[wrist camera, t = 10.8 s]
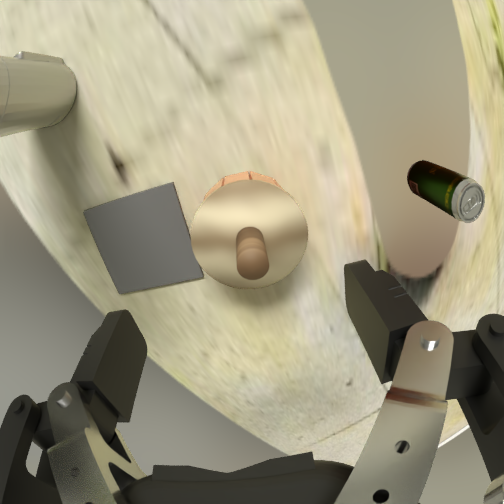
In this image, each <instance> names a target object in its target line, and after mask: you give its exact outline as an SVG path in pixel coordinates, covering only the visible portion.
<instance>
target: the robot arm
mask: <svg viewBox="0 0 504 504" xmlns="http://www.w3.org/2000/svg"><path fill="white" fill-rule="evenodd" d="M75 96H76V79H75V76H74V74H73V72H72V71H71V69H70V68H69V67H67V66H66V65H64V63H63V59H62V58H58V57H53V56H48V55H43V54H37V53H31V52H24V51H22V52H19V53H18V54H17V55H15V56H14V57H4V56H0V137H3V136H7V135H11V134H15V133H19V132H24V131H28V130H33V129H38V128H45V127H48V126H53V125H55V124H57V123H59V122H60V121H61V120H62V119H63V118H64V117H65V116H66V115H67V114H68V112H69V111H70V109H71V107H72V105H73V103H74V100H75ZM344 276H345V297H346V306H347V310H348V314H349V316H350V318H351V320H352V322H353V324H354V326H355V328H356V330H357V332H358V335H359V337H360V339H361V341H362V343H363V345H364V347H365V349H366V351H367V353H368V356H369V358H370V360H371V362H372V364H373V366H374V368H375V371H376V373H377V375H378V377H379V379H380V382H381V384H383V383H386V382H389V381H392V384H391V387H390V390H388V392H387V394H386V396H385V399H384V401H383V404H382V407H381V409H380V412H379V414H378V417H377V419H376V421H375V424H374V426H373V428H372V431H371V433H370V435H369V438H368V440H367V442H366V444H365V446H364V448H363V451H362V453H361V455H360V457H359V459H358V461H357V463H356V465H355V467H353V466H350V465H347V464H344V463H339V462H334V461H325V460H314V459H313V454H312V452H307V453H302V454H297V455H292V456H287V457H281V458H275V459H269V460H267V461H264V462H261V463H258V464H255V465H253V466H250V467H247V468H244V469H241V470H237V471H234V472H230V473H223V472H217V471H212V470H207V469H202V468H197V467H192V466H167V465H166V466H165V465H154V466H153V474H152V475H149V476H147V475H146V474H145V473H144V472H143V471H142V470H141V469H140V467H139V466H138V464H137V463H136V461H135V459H134V458H133V456H132V454H131V452H130V450H129V449H128V447H127V445H126V443H125V442H124V439H123V437H122V436H121V434H120V432H119V431H118V430H117V429H116V424H117V422H129V421H130V418H131V413H132V409H133V405H134V401H135V397H136V393H137V389H138V385H139V381H140V378H141V374H142V370H143V367H144V363H145V359H146V356H147V344H146V341H145V339H144V337H143V335H142V333H141V332H140V330H139V328H138V326H137V324H136V323H135V321H134V319H133V317H132V315H131V314H130V312H129V311H128V310H120V311H114V312H109V313H108V314H107V315H106V317H105V319H104V321H103V323H102V325H101V327H99V328H98V330H97V331H96V332H95V333H94V334H93V335H92V336H91V339H90V341H89V343H88V345H87V347H86V349H85V351H84V353H83V354H84V355H83V356H82V357H81V359H80V361H79V363H78V366H77V368H76V370H75V372H74V374H73V377H72V379H71V381H70V382H66V383H62V384H60V385H58V386H57V387H56V388H55V389H54V390H53V391H52V392H51V393H50V395H49V397H48V401H45V402H42V403H38V404H36V403H35V402H34V401H33V400H32V399H31V398H30V397H29V396H28V395H21V396H19V397H17V398H16V399H14V400H13V402H12V403H11V405H10V406H9V408H8V410H7V413H6V415H5V418H4V420H3V423H2V425H1V428H0V504H420V503H418V502H419V499H420V497H421V494H422V492H423V489H424V487H425V484H426V481H427V479H428V476H429V473H430V470H431V467H432V464H433V461H434V458H435V455H436V451H437V448H438V444H439V441H440V437H441V433H442V429H443V425H444V421H445V417H446V412H447V406H448V402H447V401H445V400H450V399H457V400H458V402H459V404H460V406H461V409H462V411H463V413H464V415H465V417H466V419H467V422H468V424H469V426H470V428H471V431H472V433H473V435H474V438H475V440H476V442H477V445H478V447H479V450H480V452H481V455H482V457H483V460H484V462H485V465H486V468H487V470H488V473H489V476H490V479H491V484H490V485H489V486H488V488H487V490H486V493H485V496H484V504H504V316H502V315H499V314H488V315H485V316H483V317H482V318H481V319H480V320H479V322H478V324H477V327H476V330H468V331H460V332H451V331H450V329H449V328H448V327H447V326H445V325H444V324H442V323H440V322H437V321H431V320H428V319H427V318H426V317H425V315H424V314H423V313H422V311H421V310H420V309H419V307H418V306H417V305H416V304H415V302H414V301H413V300H412V298H411V297H410V296H409V295H408V294H407V293H406V291H405V290H404V288H403V287H401V285H400V283H399V282H398V281H397V280H396V279H395V277H394V276H392V275H391V274H389V273H387V272H385V271H383V270H379V271H376V272H375V271H374V269H373V268H372V267H371V266H370V264H369V263H368V262H367V261H366V260H361V261H357V262H353V263H349V264H345V266H344ZM32 441H33V442H34V443H35V444H36V445H38V446H39V447H40V448H41V449H42V450H43V451H42V455H41V458H40V462H39V466H38V470H37V474H36V477H34V476H33V475H31V474H30V473H29V472H28V470H27V468H26V459H27V455H28V452H29V449H30V446H31V442H32Z"/></svg>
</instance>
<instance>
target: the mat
mask: <svg viewBox="0 0 504 504" xmlns="http://www.w3.org/2000/svg"><path fill="white" fill-rule="evenodd" d="M83 213H84V215H85V218H86V221H87V223H88V226H89V228H90V231H91V233H92V235H93V238H94V240H95V243H96V245H97V247H98V250H99V252H100V254H101V256H102V259H103V261H104V263H105V265H106V267H107V270H108V272H109V274H110V276H111V278H112V280H113V282H114V284H115V286H116V288H117V290H118V292H119V294H123V293H128V292H133V291H138V290H143V289H148V288H152V287H157V286H162V285H167V284H172V283H177V282H182V281H186V280H191V279H196V278H201V277H203V273H202V270H201V267H200V265H199V263H198V261H197V260H196V258H195V255H194V253H193V249H192V246H191V237H190V234H189V231H188V228H187V225H186V222H185V218H184V215H183V212H182V209H181V206H180V202H179V199H178V196H177V193H176V189H175V186H174V183H173V182H172V183H168V184H165V185H161V186H158V187H155V188H151V189H148V190H145V191H142V192H138V193H135V194H132V195H129V196H126V197H123V198H120V199H117V200H114V201H111V202H108V203H105V204H102V205H99V206H96V207H94V208H91V209H88V210H85V211H84V212H83Z"/></svg>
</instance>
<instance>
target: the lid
mask: <svg viewBox="0 0 504 504" xmlns="http://www.w3.org/2000/svg"><path fill="white" fill-rule="evenodd" d="M307 241H308V227H307V222H306V219H305V216H304V213H303V212H302V210H301V208H300V206H299V205H298V203H297V202H296V201H295V199H294V198H293V197H292V196H291V195H290V194H289V193H287V192H286V191H285V190H283V189H282V188H280V187H278V186H276V185H274V184H272V183H269V182H265V181H261V180H240V181H235V182H231V183H228V184H226V185H224V186H222V187H220V188H218V189H217V190H215V191H214V192H212V193H211V194H210V195H209V196H208V197H207V198H206V199H205V200H204V201H203V202H202V204H201V205H200V207H199V208H198V210H197V212H196V214H195V217H194V220H193V223H192V227H191V246H192V249H193V253H194V255H195V258H196V260H197V261H198V263H199V265H200V266H201V267H202V268H203V270H204V271H205V272H206V273H207V274H208V275H210V276H211V277H212V278H214V279H215V280H217V281H219V282H220V283H223V284H225V285H228V286H231V287H235V288H240V289H255V288H262V287H265V286H269V285H271V284H274V283H276V282H278V281H280V280H281V279H283V278H284V277H286V276H287V275H288V274H289V273H291V272H292V271H293V270H294V268H295V267H296V266H297V265H298V263H299V262H300V260H301V259H302V257H303V255H304V252H305V249H306V246H307Z"/></svg>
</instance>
